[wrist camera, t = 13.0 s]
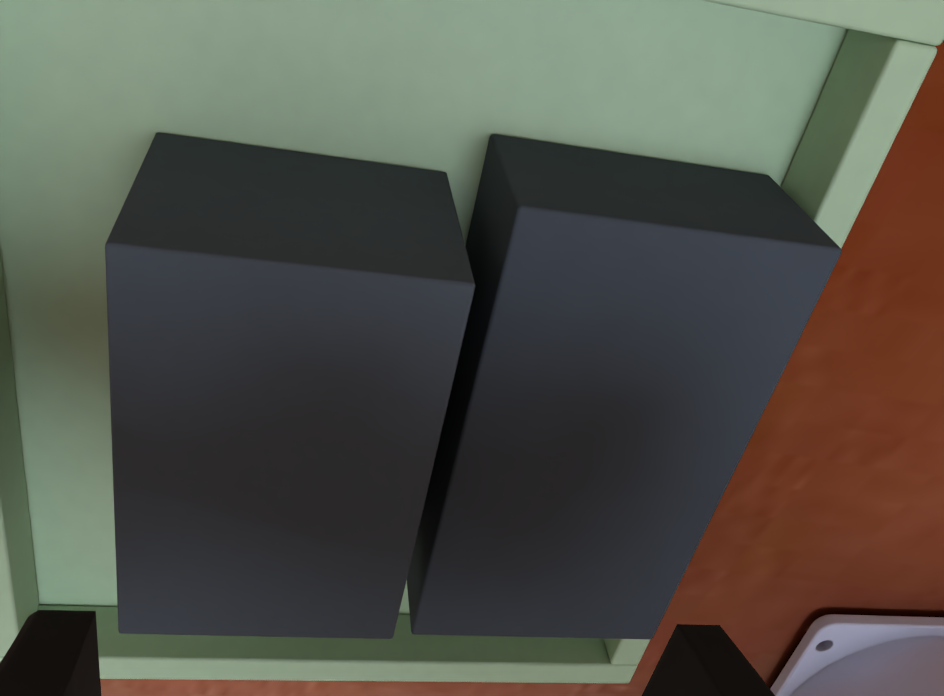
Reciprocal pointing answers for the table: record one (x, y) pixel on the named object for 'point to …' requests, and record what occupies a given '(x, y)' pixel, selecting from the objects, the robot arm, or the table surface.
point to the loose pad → (276, 386)
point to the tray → (382, 141)
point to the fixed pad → (603, 385)
